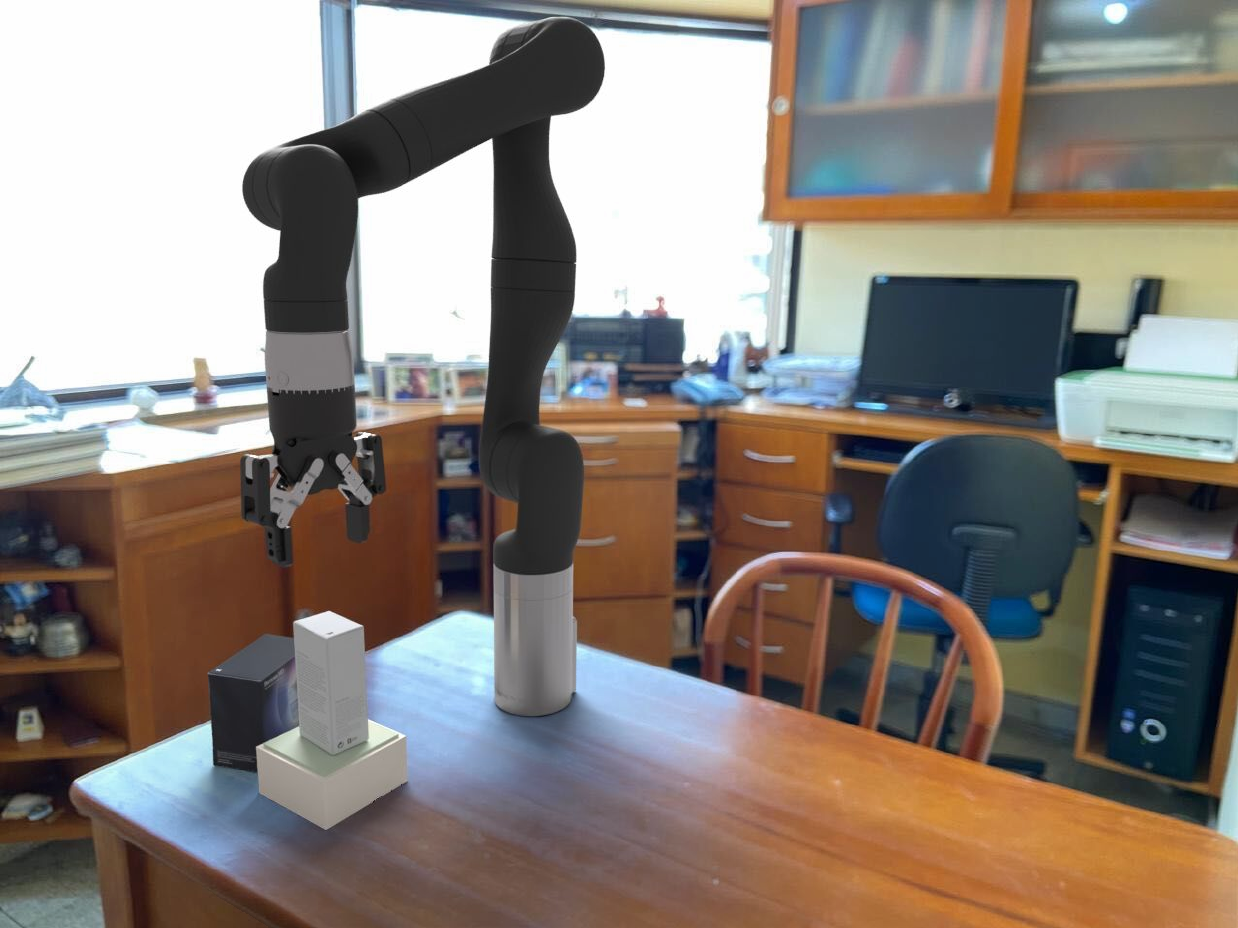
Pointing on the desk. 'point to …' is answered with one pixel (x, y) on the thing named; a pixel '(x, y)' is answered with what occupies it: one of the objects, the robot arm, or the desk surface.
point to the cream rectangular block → (331, 773)
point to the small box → (252, 700)
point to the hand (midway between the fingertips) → (321, 552)
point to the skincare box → (331, 681)
